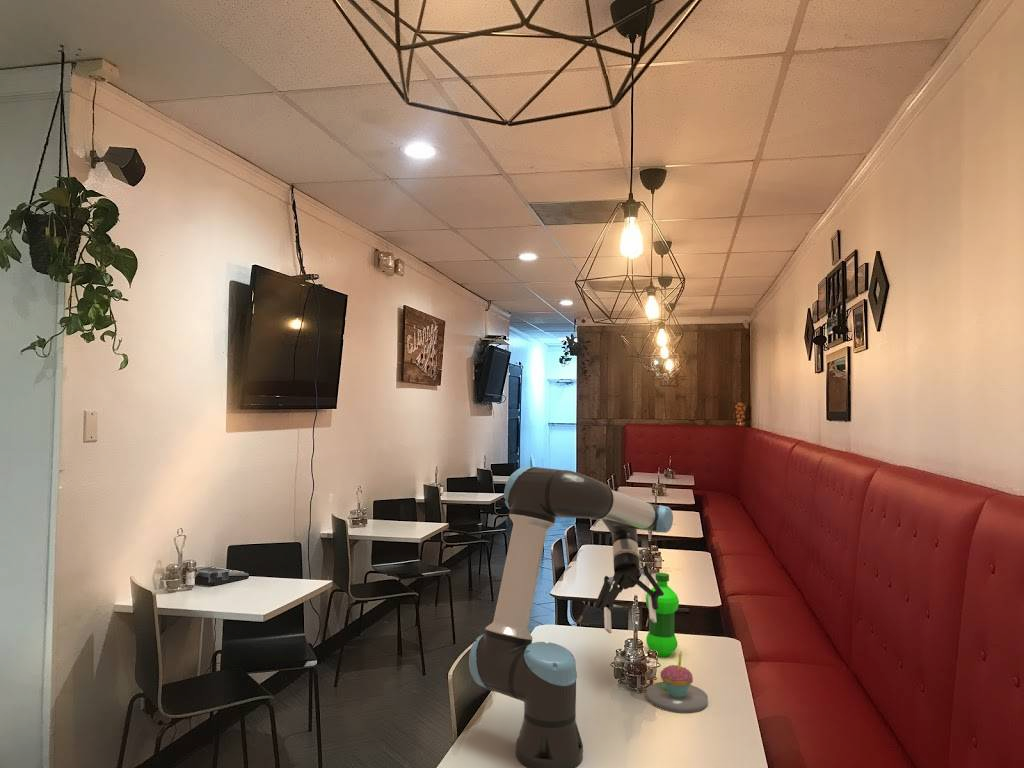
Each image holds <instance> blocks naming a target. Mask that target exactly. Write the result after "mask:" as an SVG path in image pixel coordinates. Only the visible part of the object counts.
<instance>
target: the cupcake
mask: <svg viewBox="0 0 1024 768" xmlns="http://www.w3.org/2000/svg"><path fill="white" fill-rule="evenodd" d="M682 656H683V654H682V652H679V655H678V661H677V662H678V664H676V665H674V664H673V665H672V664H671V665H668V666H665V667H664V668H663V669H662V670H661V672H660V678H661V680H662V681H661V682H665V684H666V687H667V690H668V693H669V694H670V695H671V696H674V697H684V696H686V694H687V690H688V688H689V686H690V685H692V683H693V682H694V678H693V673H692V672H691V671H690V670H689V669H687V668H686V667H683V666H682V665H681V664H682Z"/></svg>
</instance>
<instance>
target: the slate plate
mask: <svg viewBox="0 0 1024 768" xmlns="http://www.w3.org/2000/svg"><path fill="white" fill-rule="evenodd" d="M645 693H646V696H647V697H646V700H647V699H648V700H647V702H649V703H650V702H651V703H652V704H653V705H652V704H651V703H650V704H651V705H652V706H654V705H655V706H654V707H656V706H657V707H656V708H658V707H659V708H658V709H660V708H661V710H663V709H664V710H663V711H666V710H668V711H667V712H670V711H671V712H672V713H676V714H677V713H678V714H679V713H680V714H689V713H690V714H691V713H698V712H700V711H703V710H705V709H706V708H707V707H708V702H709V701H708V699H709V698H708V694H707V693H706V692H705V691H704V690H703V689H701V688H700V687H697V686H696V685H692V684H690V686H689V688H688V690H687V694H686V696H684V697H674V696H671V695H670V694H669V693H668V690H667V687H666V684H665V682H663V681H660V682H655V683H652V684H651V685H648V687H647V688H646V691H645Z"/></svg>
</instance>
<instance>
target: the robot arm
mask: <svg viewBox="0 0 1024 768" xmlns="http://www.w3.org/2000/svg"><path fill="white" fill-rule="evenodd" d="M503 492H504V493H503V498H504V499H505V501H504V504H505V505H506V507H507V509H509V514H508V516H509V518H510V520H511V522H512V530H511V534H510V538H509V539H510V540H509V543H508V548H507V554H506V558H505V563H504V568H503V573H502V577H501V578H502V579H501V582H500V586H499V593H498V598H497V601H496V602H497V603H496V607H495V612H494V616H493V621H492V623H490V624H488V625H487V626H486V627H485V629H484V634H480V635H479V636H478V637H477V638H476V639H475V642H473V643H472V645H471V648H470V651H469V657H468V667H469V672H470V675H471V677H472V679H473V681H474V682H475V683H476V684H477V685H478V686H480V687H483V688H485V689H486V690H488V691H490V692H495V693H498V694H501V695H503V696H507V697H509V698H513V699H515V700H518V701H522V702H523V705H524V707H523V713H524V714H523V720H522V723H521V728H520V730H519V734H518V737H517V739H516V743H515V757H516V758H517V760H518V761H519V763H521V764H522V765H524V766H525V767H527V768H575V767H577V766H578V765H580V764H581V763H582V761H583V758H584V744H583V741H582V737H581V734H580V732H579V728H578V724H577V722H576V721H577V720H576V719H577V717H576V714H577V711H576V709H577V705H576V704H577V697H576V696H577V679H578V672H577V665H576V664H577V663H576V659H575V656H574V654H573V653H572V652H571V651H570V650H569V649H568V648H566V647H565V646H562V645H560V644H557V643H554V642H545V641H536V642H533V636H532V634H531V633H530V631H529V626H530V621H531V614H532V609H533V604H534V599H535V595H536V589H537V583H538V579H539V574H540V573H539V572H540V568H541V562H542V557H543V551H544V546H545V542H546V536H547V532H548V530H549V529H551V528H552V527H554V525H555V521H556V518H567V519H571V518H572V519H590V520H594V521H595V520H596V521H597V520H598V521H599V520H601V521H602V522H603V523H604V525H605V526H606V527H607V529H608V530H609V531H608V532H610V534H611V537H612V557H613V560H612V561H613V572H614V574H613V576H607V575H605V576H604V578H603V583H602V584H603V585H602V587H601V588H600V589H601V590H600V592H599V594H598V597H597V599H596V601H595V604H594V607H595V608H596V609H597V610H598V612H599V611H600V612H601V620H602V621H603V622H604V630H605V631H606V632H607V633H608V634H612V611H611V610H610V608H611V607H612V605H613V603H615V600H616V599H617V597H618V596H619V595H620V593H622V592H623V590H628V589H630V588H635V586H636V585H637V586H638V587H639V588H640V589H642V590H643V591H644V592H645V593H646V594H647V593H648V594H649V595H650V596H648V603H649V609H648V612H649V614H648V615H649V620H650V619H651V620H652V621H653V622H654V623H656V622H657V620H656V609H658V597H659V596H663V595H664V593H663V591H662V590H661V588H660V587H659V585H658V584H657V581H656V579H655V577H653V575H652V572H651V569H650V568H649V567H648V566H647V565H645V564H644V565H643V567H642V568H641V567H640V566H641V565H640V557H639V544H638V542H639V541H638V530H640V531H647V532H654V533H657V534H658V533H661V534H662V533H663V534H666V533H668V532H669V531H671V529H672V526H673V523H674V522H673V521H674V514H673V511H672V509H671V508H670V507H669V506H664V505H662V504H659V505H658V504H652V503H649V502H646V501H644V500H640V499H638V498H636V497H632V496H630V495H628V494H624V493H621V492H619V491H616V490H613V489H612V488H611V487H610V486H609V485H608V484H607V483H605V482H603V481H600V480H598V479H595V478H593V477H590V476H588V475H585V474H582V473H580V472H576V471H572V470H568V469H558V468H547V467H538V466H531V467H528V466H527V467H526V466H525V467H520V468H517V469H516V470H515V471H514V472H513V473H512V474H511V475H510V476H509V477H508V479H507V480H506V483H505V487H504V491H503ZM641 576H645V578H646V579H647V580H648V581H649V582H650V584H651V586H652V588H653V587H654V588H655V590H656V591H654V592H653V591H652V590H651V589H652V588H650V587H649V586H647V585H646V584H645V583H644V582H642V580H640V579H641Z"/></svg>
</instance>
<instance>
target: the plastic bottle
mask: <svg viewBox="0 0 1024 768" xmlns="http://www.w3.org/2000/svg"><path fill="white" fill-rule="evenodd" d="M655 581H656V583H657V584H658V585H659V587H660V588H661V590H662V591H663V593H664V595H663V596H659V597H658V609H656V620H657V622H656V623H654V622H653V621H652V620H651V619H650V618H649V627H648V628H649V631H648V633H647V635H646V638H645V639H646V646H647V647H648V650H650V651H651V650H655V651H657V652H658V656H657V657H665V658H666V657H669V656H671V654H673V653H674V652H675V651H676V650H677V649H678V640H677V637H676V635H675V625H676V624H675V619H676V618H675V616H676V615H675V614H676V613H675V612H677V610H678V609H679V607H680V606H679V605H680V604H679V603H680V601H679V600H680V599H679V597H678V595H677V592H675V591H674V590H673V589H672V587H670V586H669V585H668V582H670V574H669V573H666V572H656V573H655ZM650 589H651V590H652V591H653V592H654V591H656V590H655V588H654V587H653V586H652V588H650ZM648 596H650V595H649V594H648V593H647V592H646V594H645V603H646V608H647V610H649V603H648Z"/></svg>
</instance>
